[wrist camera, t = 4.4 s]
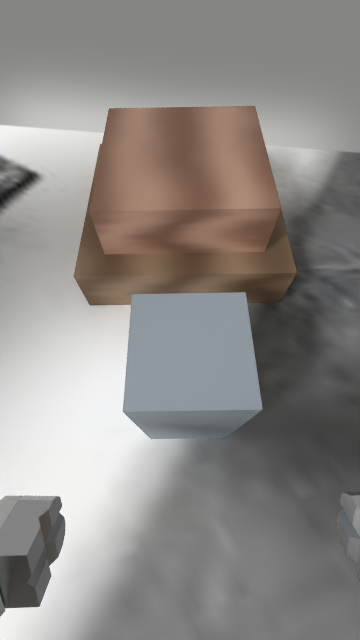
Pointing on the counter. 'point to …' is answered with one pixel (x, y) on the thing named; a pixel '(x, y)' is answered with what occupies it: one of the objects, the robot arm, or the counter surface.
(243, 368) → the slate brick
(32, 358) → the counter surface
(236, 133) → the plinth
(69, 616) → the counter surface
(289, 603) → the counter surface
